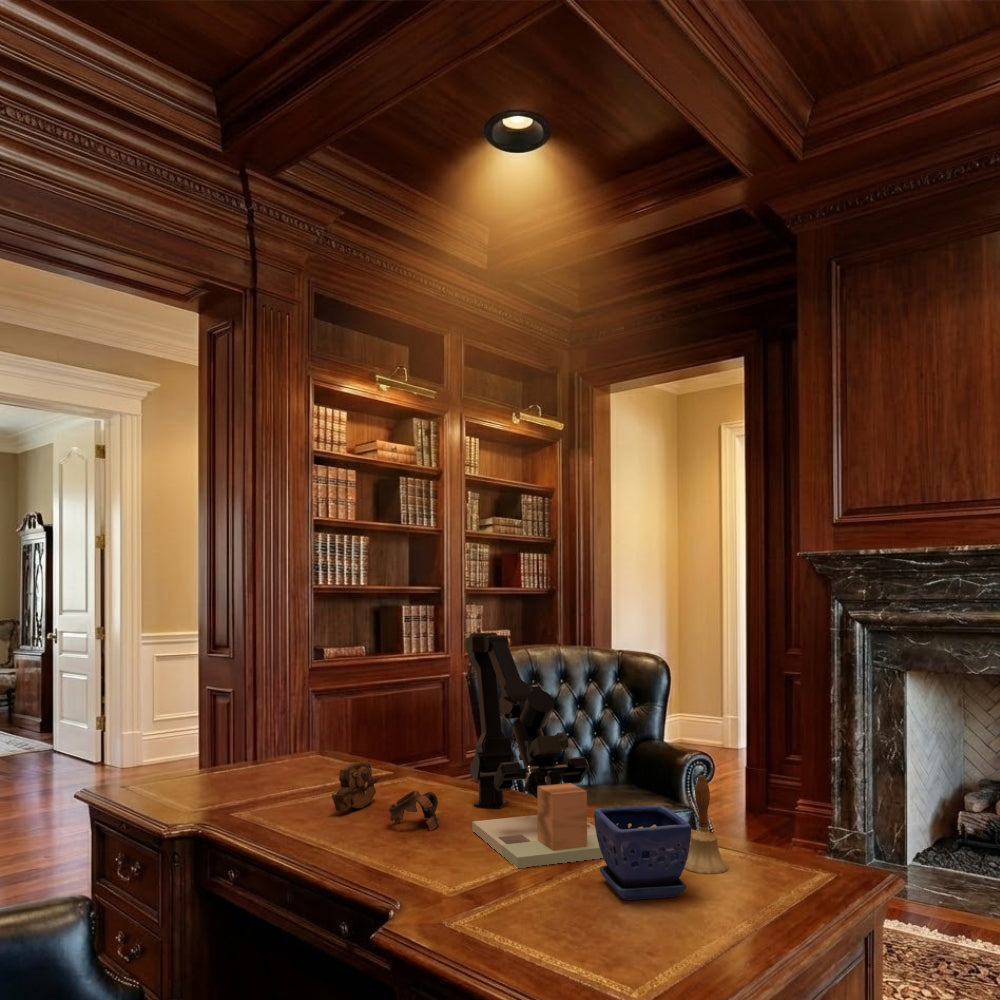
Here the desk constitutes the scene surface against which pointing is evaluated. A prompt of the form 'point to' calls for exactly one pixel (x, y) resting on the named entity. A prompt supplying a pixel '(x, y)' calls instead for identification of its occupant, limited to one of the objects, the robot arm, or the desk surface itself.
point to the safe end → (549, 853)
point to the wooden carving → (354, 787)
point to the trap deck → (511, 830)
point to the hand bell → (704, 837)
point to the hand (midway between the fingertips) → (554, 811)
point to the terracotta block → (562, 816)
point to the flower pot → (643, 850)
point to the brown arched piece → (409, 804)
